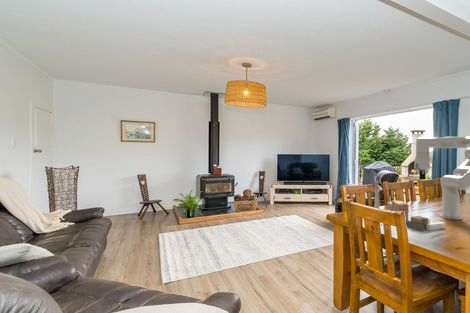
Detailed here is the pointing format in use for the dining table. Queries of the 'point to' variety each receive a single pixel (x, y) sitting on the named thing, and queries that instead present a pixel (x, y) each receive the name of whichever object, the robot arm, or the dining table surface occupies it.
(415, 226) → the bar
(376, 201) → the candlestick
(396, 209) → the stack of blocks
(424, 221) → the walnut block
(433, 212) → the dining table surface
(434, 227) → the chute rail
